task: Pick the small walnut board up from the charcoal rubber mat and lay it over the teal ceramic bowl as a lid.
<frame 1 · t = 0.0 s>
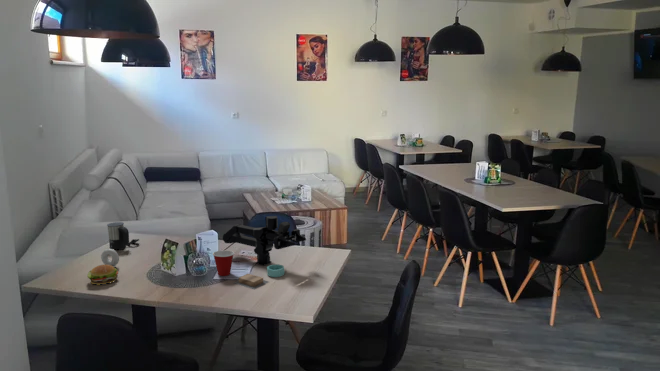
hand: (300, 241, 251), 17 cm above the table, tool horizontal, fingers open, 9 cm apart
food: (102, 281, 243), on the table
plastic cup: (224, 275, 251), on the table
bowl: (275, 275, 251), on the table
mat: (251, 283, 240), on the table
donut: (110, 267, 263), on the table
milk frother: (124, 246, 297), on the table
board: (251, 282, 240), point 1 cm above the table, touching mat
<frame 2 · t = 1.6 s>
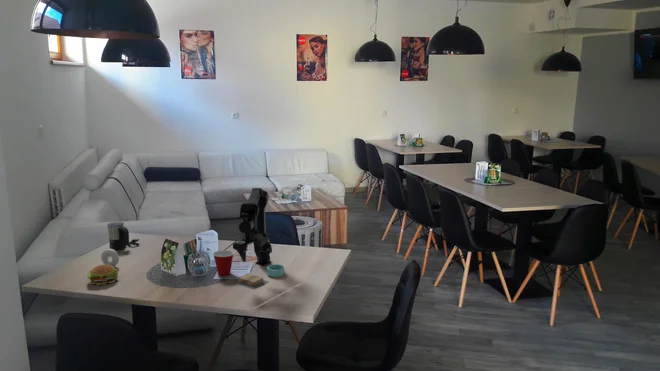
hand: (251, 259, 237), 12 cm above the table, tool pointing down, fingers open, 9 cm apart
nothing on the table moved.
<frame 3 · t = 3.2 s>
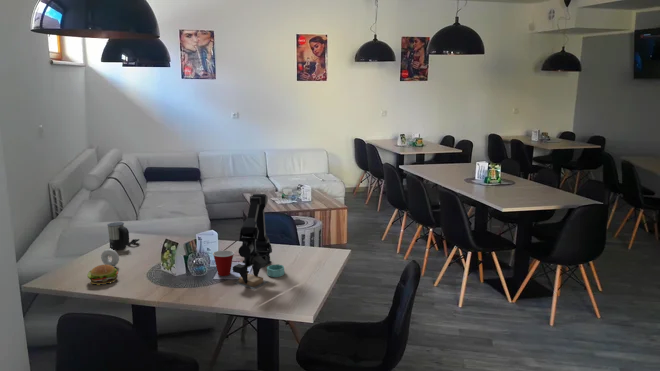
hand: (251, 281, 240), 1 cm above the table, tool pointing down, fingers closed on board, 6 cm apart
board: (251, 282, 240), point 1 cm above the table, touching gripper, mat
everything else where it was.
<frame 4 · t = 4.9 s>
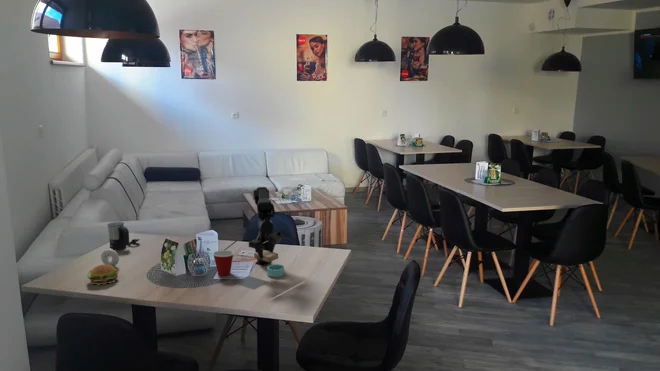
hand: (266, 256, 245), 11 cm above the table, tool pointing down, fingers closed on board, 6 cm apart
board: (266, 258, 245), point 10 cm above the table, touching gripper
everything else where it was.
when the fingers open (6 cm above the table, at t = 6.7 s): board drops 1 cm, resting on bowl.
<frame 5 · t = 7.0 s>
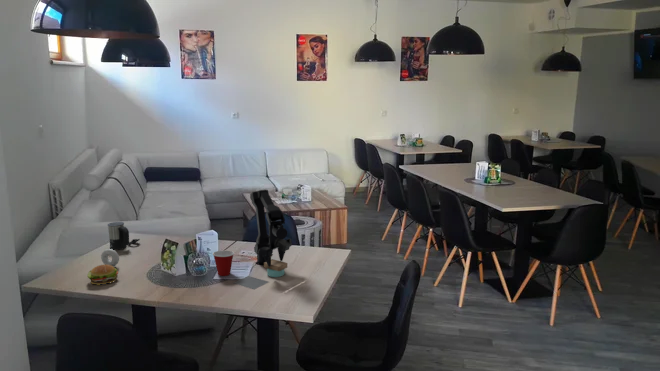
hand: (275, 263, 249), 6 cm above the table, tool pointing down, fingers open, 9 cm apart
board: (275, 267, 250), point 4 cm above the table, touching bowl
everything else where it was.
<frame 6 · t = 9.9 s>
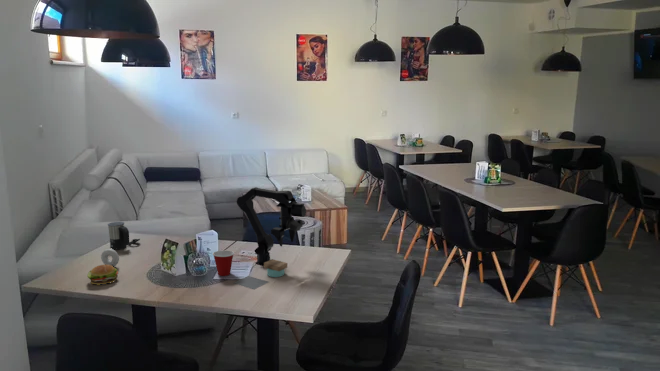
hand: (286, 243, 260), 13 cm above the table, tool pointing down, fingers open, 9 cm apart
nothing on the table moved.
at the end: board 0.0 cm off-centre on the bowl, point 4.2 cm above the bowl's base; the gripper is holding nothing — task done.
